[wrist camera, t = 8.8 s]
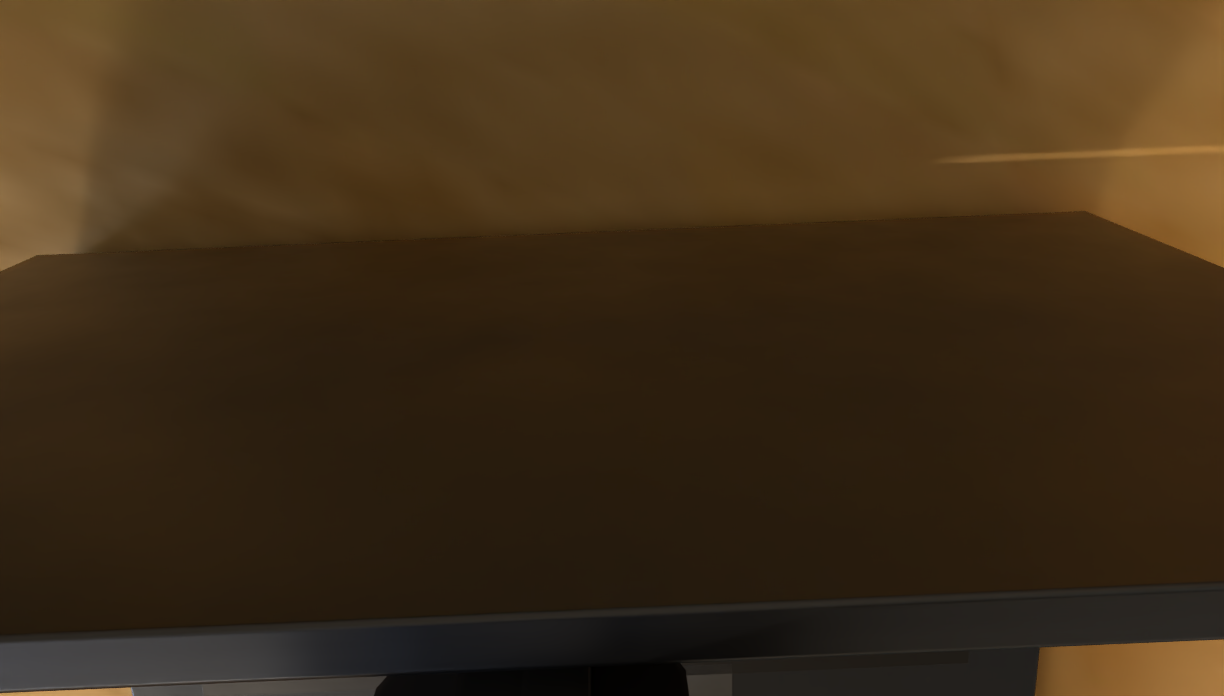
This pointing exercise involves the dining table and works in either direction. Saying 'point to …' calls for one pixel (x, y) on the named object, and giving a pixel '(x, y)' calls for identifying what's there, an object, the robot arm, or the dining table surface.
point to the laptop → (754, 677)
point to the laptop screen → (607, 450)
